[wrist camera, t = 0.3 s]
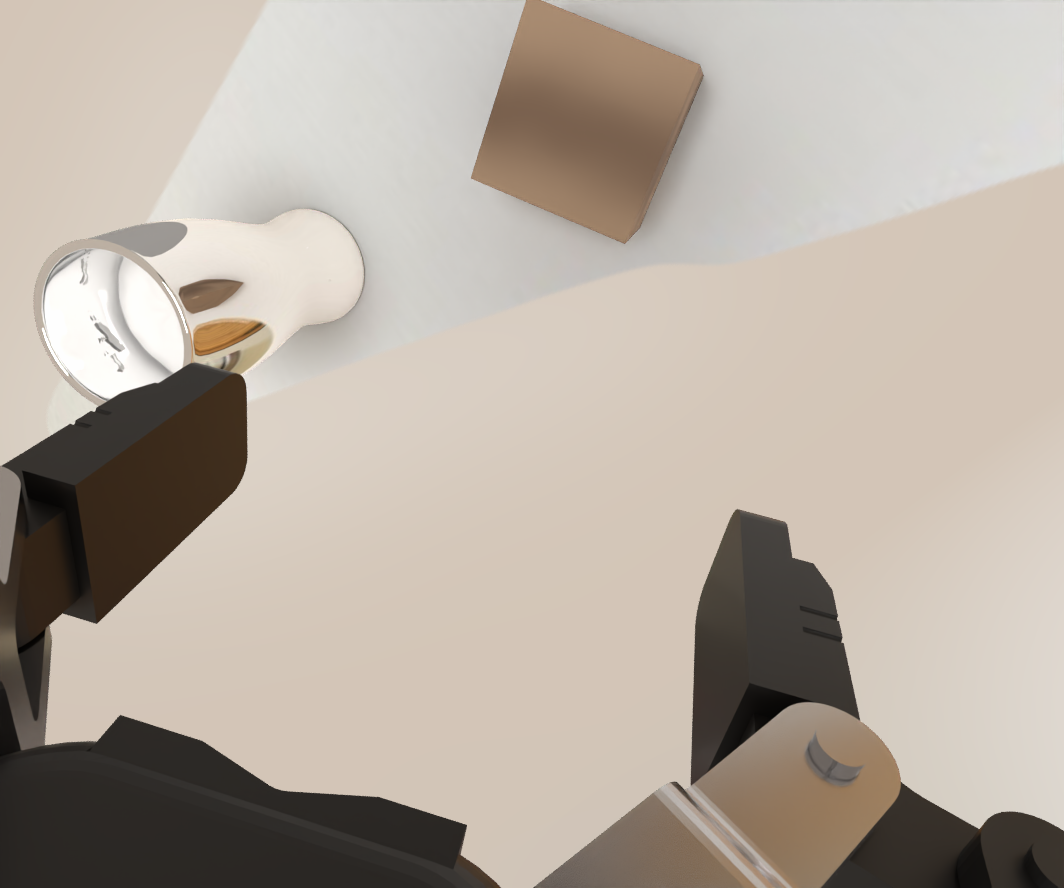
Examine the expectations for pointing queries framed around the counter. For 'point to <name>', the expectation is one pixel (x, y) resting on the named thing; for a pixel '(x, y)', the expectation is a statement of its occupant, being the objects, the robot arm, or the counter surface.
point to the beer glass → (190, 296)
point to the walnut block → (585, 120)
